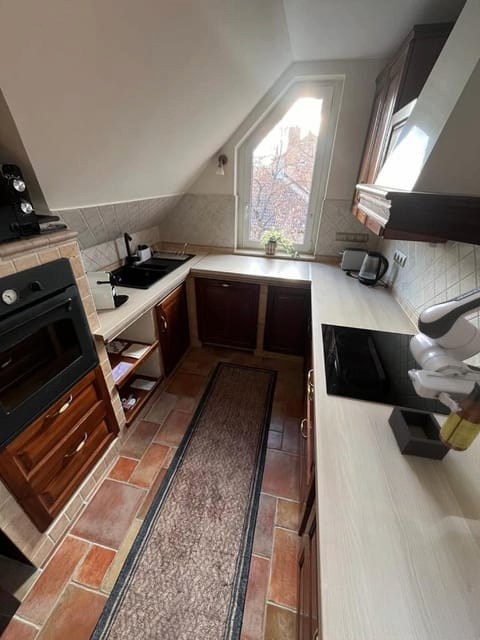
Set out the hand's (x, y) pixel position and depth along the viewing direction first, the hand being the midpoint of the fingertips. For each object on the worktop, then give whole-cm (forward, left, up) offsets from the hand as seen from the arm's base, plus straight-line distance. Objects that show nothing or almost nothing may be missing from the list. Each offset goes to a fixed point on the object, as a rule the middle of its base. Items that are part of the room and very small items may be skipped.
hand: (475, 413), depth 60 cm
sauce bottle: (0, -1, -12) cm, 12 cm away
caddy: (+1, -11, -25) cm, 28 cm away
